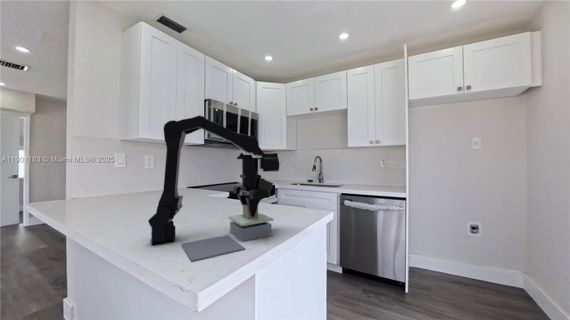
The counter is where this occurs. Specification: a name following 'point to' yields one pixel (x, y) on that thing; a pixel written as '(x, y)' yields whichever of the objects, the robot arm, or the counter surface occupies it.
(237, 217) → the lid
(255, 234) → the dish
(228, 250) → the mat
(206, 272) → the counter surface
